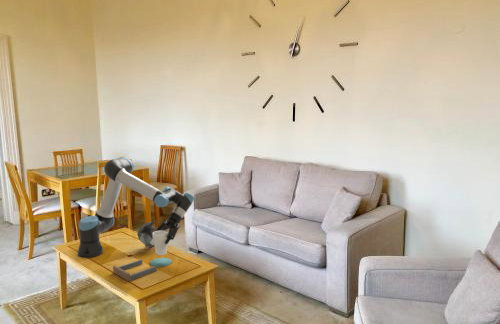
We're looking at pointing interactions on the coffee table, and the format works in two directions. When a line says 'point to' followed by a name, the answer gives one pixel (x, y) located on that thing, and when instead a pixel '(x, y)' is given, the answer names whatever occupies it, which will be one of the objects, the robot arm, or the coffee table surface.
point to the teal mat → (160, 262)
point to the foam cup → (160, 241)
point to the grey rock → (146, 234)
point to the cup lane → (126, 275)
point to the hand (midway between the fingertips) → (156, 246)
